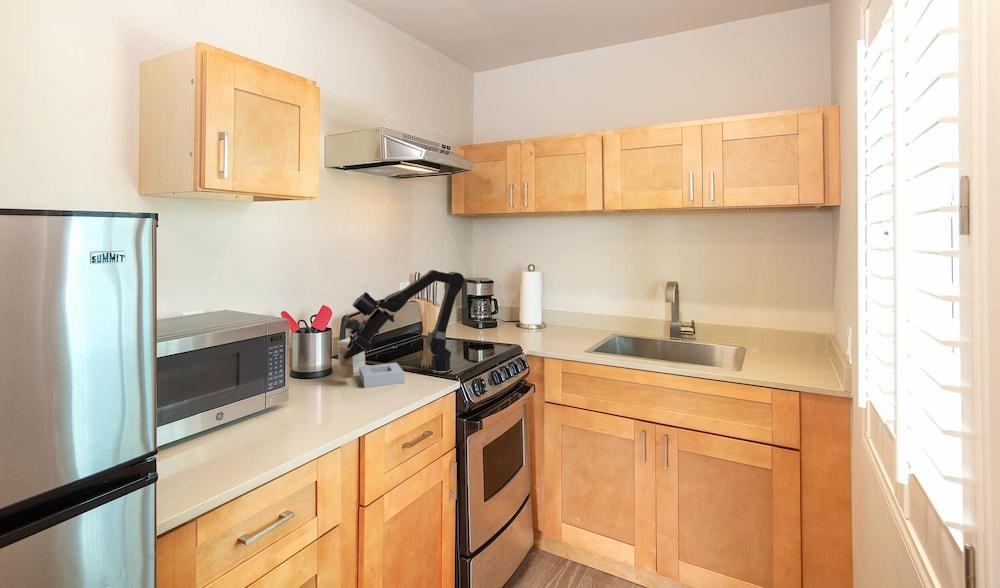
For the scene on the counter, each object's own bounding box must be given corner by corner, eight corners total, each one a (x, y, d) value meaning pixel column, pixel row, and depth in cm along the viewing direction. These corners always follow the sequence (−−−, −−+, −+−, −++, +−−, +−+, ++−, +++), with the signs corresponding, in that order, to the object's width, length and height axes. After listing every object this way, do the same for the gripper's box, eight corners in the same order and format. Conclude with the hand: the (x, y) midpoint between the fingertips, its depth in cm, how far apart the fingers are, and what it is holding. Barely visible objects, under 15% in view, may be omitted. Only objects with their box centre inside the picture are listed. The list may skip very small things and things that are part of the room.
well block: (397, 372, 186) (396, 362, 186) (404, 382, 174) (404, 371, 173) (359, 377, 181) (359, 367, 180) (364, 388, 168) (364, 377, 168)
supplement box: (352, 367, 195) (350, 336, 193) (366, 369, 191) (364, 338, 190) (338, 372, 188) (336, 340, 186) (352, 374, 185) (351, 342, 183)
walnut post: (352, 374, 175) (350, 347, 174) (353, 377, 171) (351, 349, 170) (340, 375, 173) (339, 348, 172) (341, 378, 170) (340, 351, 168)
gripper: (354, 306, 179) (324, 338, 177) (360, 313, 162) (327, 349, 160) (376, 324, 184) (348, 356, 181) (384, 333, 166) (353, 369, 164)
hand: (344, 357), depth 171 cm, fingers closed on walnut post, 4 cm apart
